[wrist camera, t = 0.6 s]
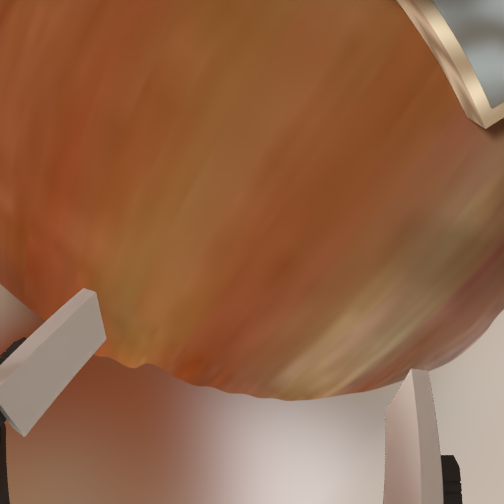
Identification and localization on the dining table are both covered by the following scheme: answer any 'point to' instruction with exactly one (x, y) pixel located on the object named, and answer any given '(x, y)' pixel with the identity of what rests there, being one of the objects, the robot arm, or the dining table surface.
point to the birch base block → (466, 50)
